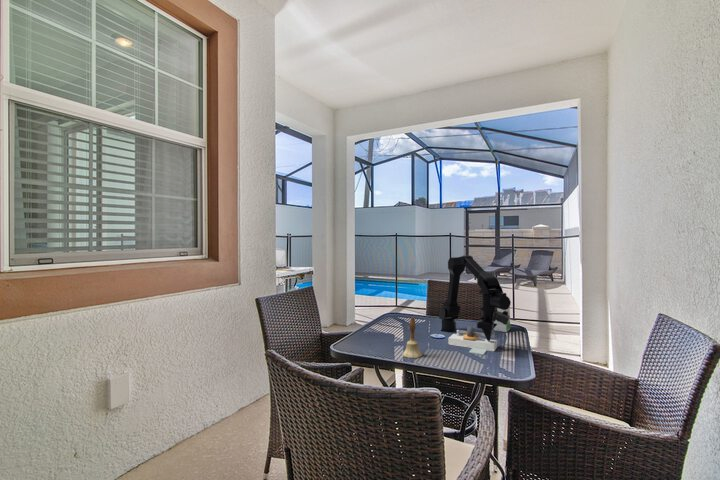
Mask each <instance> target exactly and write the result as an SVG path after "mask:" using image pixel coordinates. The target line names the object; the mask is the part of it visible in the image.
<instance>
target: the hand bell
mask: <svg viewBox="0 0 720 480" xmlns="http://www.w3.org/2000/svg"><path fill="white" fill-rule="evenodd" d="M416 325H417V324H416V319H415V317H414V316H411V317H410V320H409V324H408V326H409V331H410V332H409V333H410V335H409V336H410V338H409V339H410V340H408V341H406V347H405V350H404V351H402V356H403V357H405V358H409V359H419V358H421V357H423V353H422V352H421V351H420V349H419V345H418V344H419V343H418V341H416V340H415V330H416Z"/></svg>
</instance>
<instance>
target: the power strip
mask: <svg viewBox="0 0 720 480" xmlns="http://www.w3.org/2000/svg"><path fill="white" fill-rule="evenodd" d="M463 335H464V334H462V333H457V332H456V333H452V334H451V335H450V336H449V337H448V345H451V346H458V347H464V348H471V349H472V348H477V349H484V350H487V351H488V352H495V351H496V349H497V348H498V339H494V338H491V339H490V341H487V339H486V337H480V336H478V339H476V340H475V341H471V340H466V339H464V338H463Z"/></svg>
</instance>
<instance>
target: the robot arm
mask: <svg viewBox="0 0 720 480" xmlns="http://www.w3.org/2000/svg"><path fill="white" fill-rule="evenodd" d="M465 268H467V270H468V271H469V272H470V273H471V274H472V275H473V276H474V278H476V283H477V285H478V287H479V289H480V290H479V291H478V294H480V295H481V307H480V311H481V316H480V320H479V321H478V322H476V328H477V329H481V330H482V333H484V334H485V336H484V338H486V339H487V341H490V339H492V337H491V335H492V332H494V328H495V326H496V325H497V324H495V323H494V321H495V320H497V322H501V323H503V324H504V325H507V323H508V321H509V318H510V319H511V315H510V316H508V312H507V311H503V312H499V311H497V308H499V309H502V310H506V309H508V308H509V307H510V306H511V300H510V299H511V298H510V297H509V296H507V293H506V292H504V291H503V288H502V286H501V284H500V282H499V279H498V278H497V277H496V275H495V276H494V275H493V274H491V273H489V272H487V271H486V270H485V269H483V267H482V266H481V265H480V264H479V263H478V262H477V261H476V260H475V259H474V258H473V256H472V255H461V256H458V257H455V256H453V257H450V258H448V260H447V269H448V271H449V274H450V275H449V281H448V290H447V296H446V297H447V298H446V300H445V301H444V303H443V305H442V308H441V310H440V311H439V313H438V317H439V319H440V320H441V329H440V331H441V332H446V333H447V332H448V333H454V332H455V331H457V322H456V320H458V318H459V315H460V313H461V312H460V311H461V306H460V305H459V303H458V295H459V287H460V280H461V275H462V274H463V272H465Z"/></svg>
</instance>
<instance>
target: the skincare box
mask: <svg viewBox="0 0 720 480" xmlns="http://www.w3.org/2000/svg"><path fill="white" fill-rule="evenodd" d="M497 311H499V312H503V311H507V312H508V316H510V318H509V321H508V323H507V325H504V324H503V323H501V322H497V320H495V321H493V322H494V323H495V324H497V325H496V326H495V328H493V331H494V332H503V333H507V332H508V331H509V330H510V329H511V308H510V307H509V308H508V309H506V310H502V309H499V308H497Z"/></svg>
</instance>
